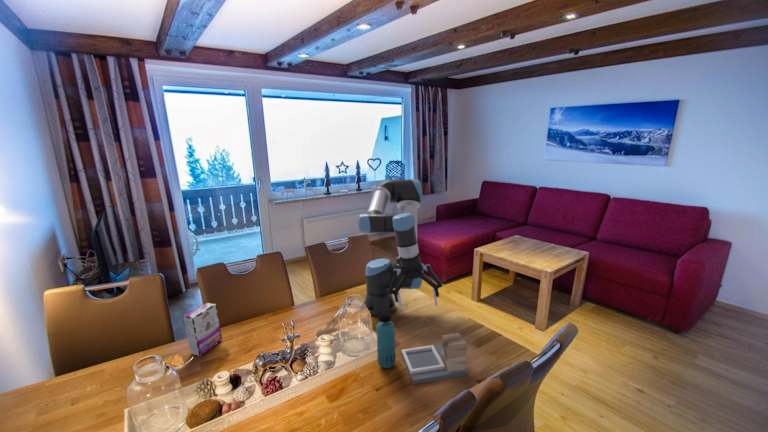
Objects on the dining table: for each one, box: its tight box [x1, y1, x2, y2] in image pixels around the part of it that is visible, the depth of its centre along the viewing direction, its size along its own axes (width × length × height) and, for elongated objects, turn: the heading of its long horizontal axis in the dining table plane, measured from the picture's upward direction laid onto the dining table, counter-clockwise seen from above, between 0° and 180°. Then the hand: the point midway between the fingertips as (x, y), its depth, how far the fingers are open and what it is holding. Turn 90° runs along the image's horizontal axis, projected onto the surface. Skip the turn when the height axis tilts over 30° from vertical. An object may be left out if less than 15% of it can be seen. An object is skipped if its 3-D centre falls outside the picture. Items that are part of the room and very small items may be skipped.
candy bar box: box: [183, 302, 223, 357], centre depth 128 cm, size 11×5×16 cm, turn 161°
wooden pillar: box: [441, 332, 467, 372], centre depth 112 cm, size 6×6×10 cm
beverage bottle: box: [376, 312, 397, 368], centre depth 114 cm, size 6×7×20 cm
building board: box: [400, 344, 469, 385], centre depth 116 cm, size 16×19×2 cm
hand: (418, 306), depth 127 cm, fingers open, 13 cm apart
